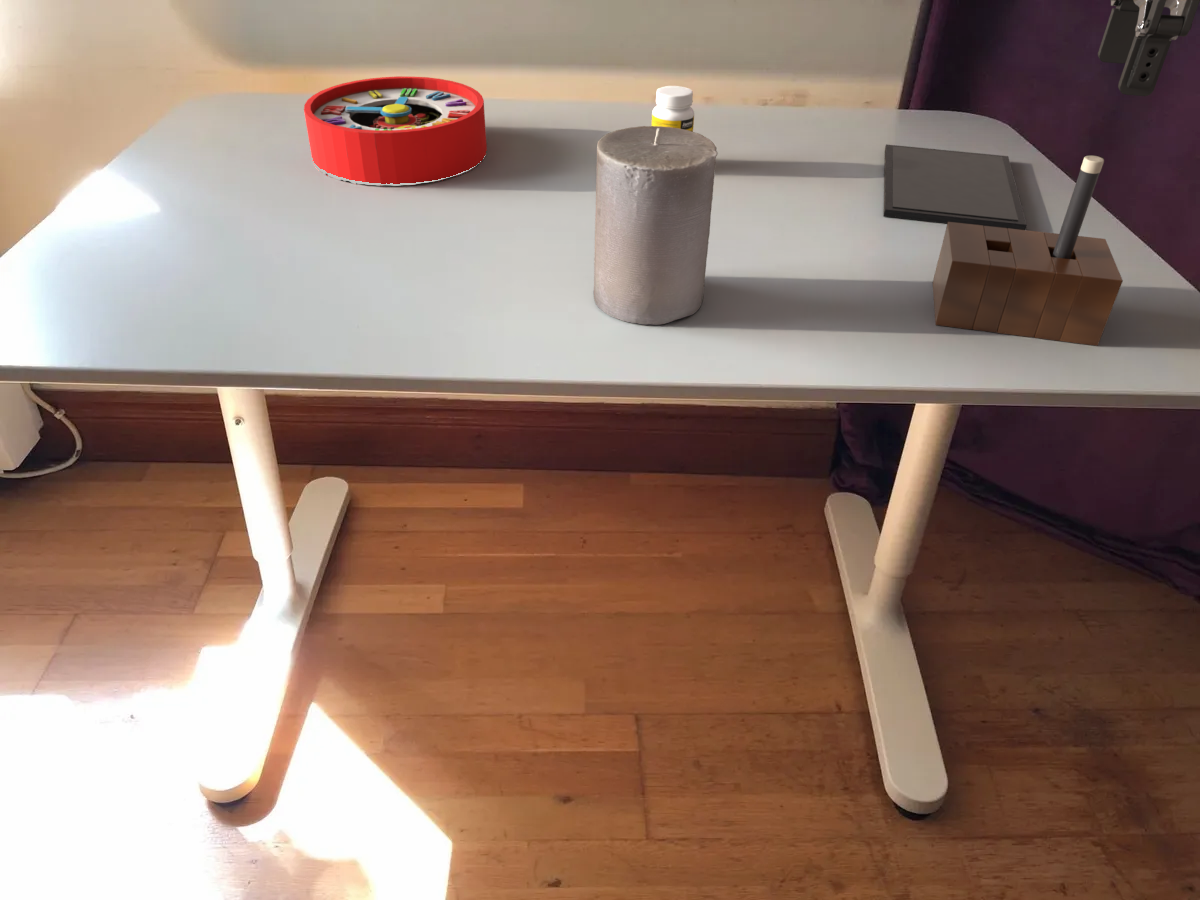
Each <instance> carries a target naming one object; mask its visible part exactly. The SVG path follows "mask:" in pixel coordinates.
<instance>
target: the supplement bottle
mask: <svg viewBox="0 0 1200 900" xmlns="http://www.w3.org/2000/svg"><path fill="white" fill-rule="evenodd" d="M693 95H694V92H693V89H691V88H690V87H686V86H681V85H665V86H661V87H659V88H657V89H656V95H655V104H656V106H654V108H653V109H652V112H651V125H650V126H663V127H672V128H679V129H684V130H689V131H692V132H694V123H695V122H694V121H695V111H694V109H693V108H692V105H693V102H694V100H693Z"/></svg>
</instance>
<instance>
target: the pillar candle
mask: <svg viewBox="0 0 1200 900" xmlns="http://www.w3.org/2000/svg"><path fill="white" fill-rule="evenodd" d="M718 154H719V153H718V151H717V146H716V145H715V143H714V142H713V141H712V140H711V139H709V138H708V137H706V136H704V135H703V134H701V133H699V132H695V131H693V132H692V131H689V130H684V129H679V128H672V127H663V126H651V125H642V126H640V125H639V126H631V127H626V128H621V129H616V130H614V131H611V132H608V133H606V134H605V135H603V136H602V137H601V138H600V139H598V141H597V144H596V171H595V172H596V173H595V174H596V175H595V176H596V177H595V179H596V181H595V215H594V216H595V218H594V219H595V221H594V256H593V261H594V262H593V265H594V266H593V267H594V268H593V269H594V270H593V271H594V272H593V299H594V303H595V305H596V306H597V308H599V309H600V310H601V311H602V313H605V314H606V315H608V316H610V317H612V318H615V319H617V320H620V321H623V322H627V323H632V324H638V325H646V326H648V325H654V326H657V325H658V326H659V325H664V324H670V323H672V322H674V321H678V320H680V319H683V318H686V317H689V316H693V315H695V313H696V312H698V311H699V309H700V308H701V306H702V303H703V301H704V300H703V299H704V293H705V283H706V272H707V258H708V252H709V240H710V233H711V217H712V207H713V198H714V197H713V196H714V185H715V174H716V173H715V172H716V160H717V156H718Z"/></svg>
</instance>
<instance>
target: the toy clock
mask: <svg viewBox="0 0 1200 900" xmlns="http://www.w3.org/2000/svg"><path fill="white" fill-rule="evenodd" d="M303 105H304V107H303V113H304V119H305V125H306V130H307V136H308V142H309V149H310V154H311V159H312V158H313V160H312V162H313V161H314V163H315V164H316V165H317V166H318V167H319V168H320V169H323V170H325V171H326V172H327V173H331V174H333V175H336V176H338V177H343V178H346V179H349V180H355V181H362V182H369V183H381V184H386V183H387V184H390V183H393V184H400V183H416V182H424V181H432V180H438V179H441V178H446V177H450V176H453V175H456V174H458V173H461V172H463V171H466V170H469V169H470V168H472V167H474V166H476V165H477V164H478V163H480V161H482V160H483V158H484V156H485V155H486V156H487V153H486V151H487V152H488V147H487V132H486V116H485V99H484V97H483V95H482V94H481V93H480V92H479V91H478V90H476V89H475V88H474V87H472V86H469V85H467V84H464V83H460V82H457V81H453V80H450V79H449V80H448V79H443V78H436V77H428V76H410V75H409V76H402V75H401V76H397V75H396V76H381V77H372V78H371V77H370V78H365V79H357V80H353V81H349V82H348V81H347V82H343V83H339V84H336V85H333V86H330V87H327V88H324V89H322V90H319V91H318V92H316V93H314V94H313V95H312V96H310V97H309V98H308V99H307V100H306V101H305V103H304V104H303ZM484 159H485V158H484ZM483 161H484V160H483ZM314 163H313V164H314ZM480 164H481V163H480Z"/></svg>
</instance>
